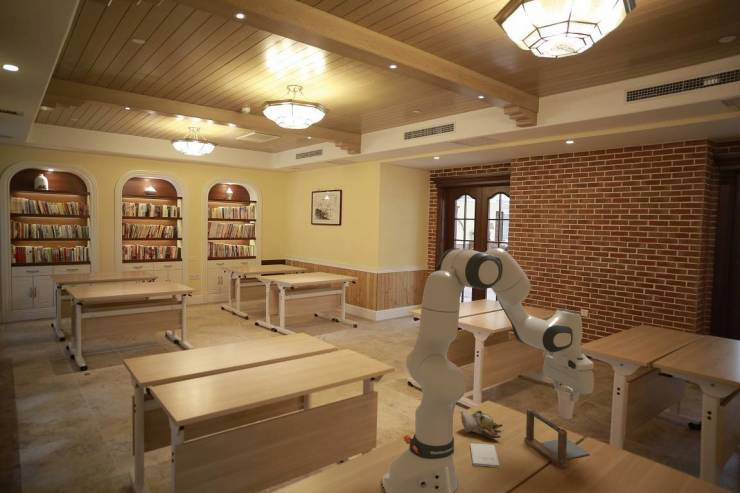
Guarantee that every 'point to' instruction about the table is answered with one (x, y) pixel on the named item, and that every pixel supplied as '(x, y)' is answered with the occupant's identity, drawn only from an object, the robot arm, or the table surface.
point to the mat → (571, 450)
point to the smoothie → (565, 401)
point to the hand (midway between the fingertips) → (566, 396)
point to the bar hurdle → (562, 444)
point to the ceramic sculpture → (480, 424)
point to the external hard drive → (484, 455)
